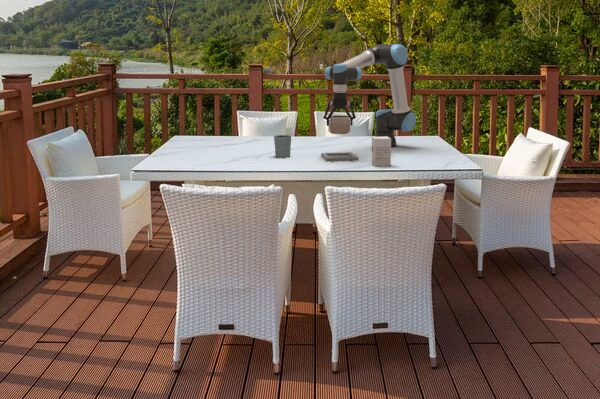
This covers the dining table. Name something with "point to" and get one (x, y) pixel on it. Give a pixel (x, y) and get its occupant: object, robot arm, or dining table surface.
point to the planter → (339, 124)
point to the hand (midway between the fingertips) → (339, 131)
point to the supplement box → (381, 151)
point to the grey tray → (339, 156)
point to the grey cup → (282, 146)
